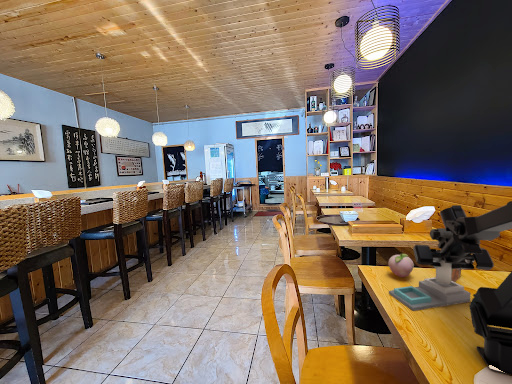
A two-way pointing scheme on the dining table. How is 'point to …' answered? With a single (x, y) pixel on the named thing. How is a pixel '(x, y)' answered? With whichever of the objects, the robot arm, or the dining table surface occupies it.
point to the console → (431, 294)
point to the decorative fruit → (401, 265)
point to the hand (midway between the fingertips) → (441, 266)
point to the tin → (455, 274)
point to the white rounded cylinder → (444, 273)
